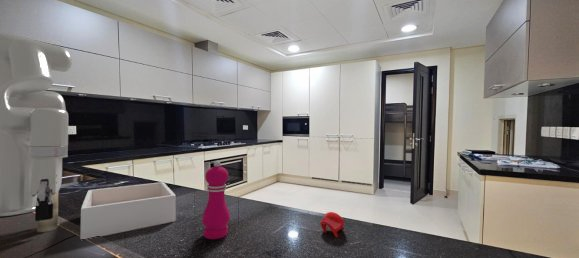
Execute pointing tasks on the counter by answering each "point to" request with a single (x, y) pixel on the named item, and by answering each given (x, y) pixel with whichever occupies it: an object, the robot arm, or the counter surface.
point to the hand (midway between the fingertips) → (47, 214)
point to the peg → (50, 223)
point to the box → (126, 209)
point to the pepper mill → (216, 203)
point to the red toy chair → (332, 222)
